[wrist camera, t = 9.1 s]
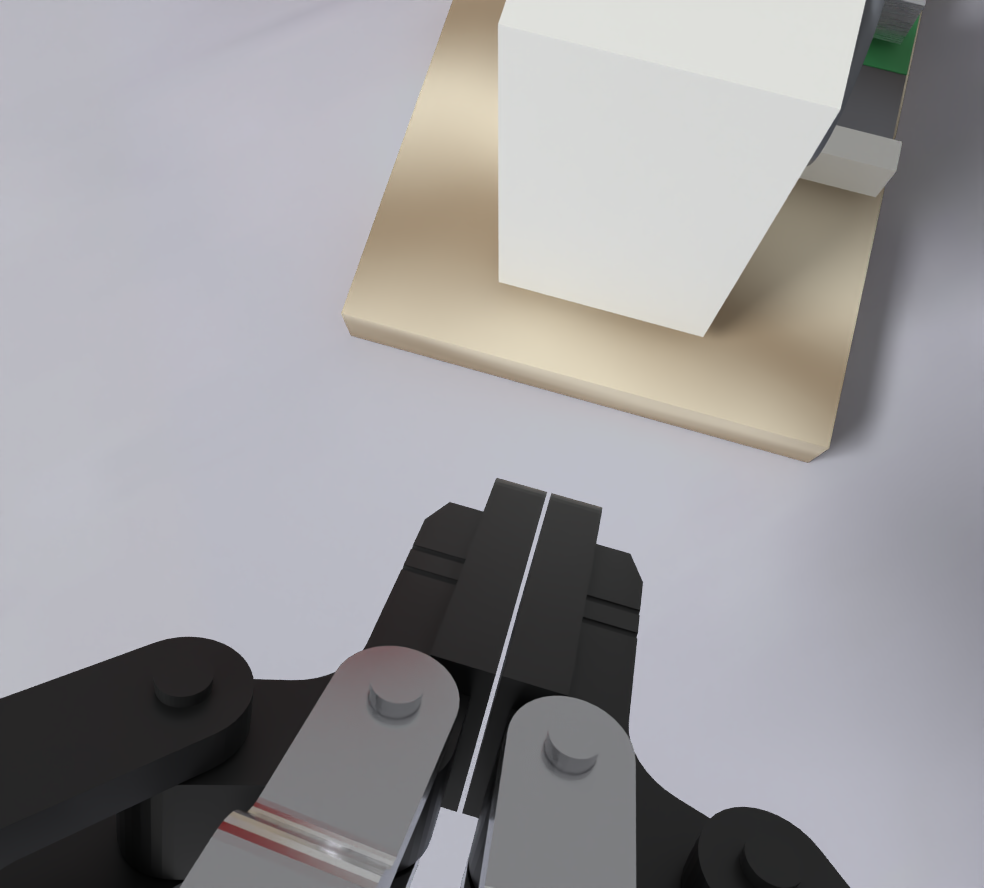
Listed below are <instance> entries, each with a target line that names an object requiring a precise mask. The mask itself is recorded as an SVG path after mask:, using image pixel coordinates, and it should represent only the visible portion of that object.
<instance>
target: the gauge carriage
mask: <svg viewBox="0 0 984 888" xmlns="http://www.w3.org/2000/svg"><path fill="white" fill-rule="evenodd" d="M884 3H885V0H506V2H505V5H504V8H503V11H502V14H501V17H500V20H499V23H498V240H499V282H501V283H505V284H508V285H512V286H516V287H519V288H523V289H527V290H530V291H534V292H538V293H542V294H545V295H549V296H553V297H556V298H560V299H564V300H567V301H571V302H575V303H579V304H582V305H586V306H590V307H593V308H597V309H601V310H604V311H608V312H612V313H616V314H619V315H623V316H627V317H630V318H634V319H638V320H641V321H645V322H649V323H653V324H656V325H660V326H664V327H667V328H671V329H675V330H679V331H682V332H686V333H690V334H693V335H697V336H701V337H704V335H705V333H706V332H707V330H708V328H709V327H710V325H711V323H712V322H713V320H714V318H715V317H716V315H717V313H718V312H719V310H720V308H721V307H722V305H723V303H724V302H725V300H726V298H727V297H728V295H729V293H730V292H731V290H732V288H733V287H734V285H735V283H736V282H737V280H738V279H739V277H740V275H741V274H742V272H743V270H744V269H745V267H746V265H747V264H748V262H749V260H750V259H751V257H752V255H753V254H754V252H755V250H756V249H757V247H758V245H759V244H760V242H761V240H762V239H763V237H764V235H765V234H766V232H767V230H768V229H769V227H770V225H771V224H772V222H773V220H774V219H775V217H776V215H777V214H778V212H779V211H780V209H781V207H782V206H783V204H784V202H785V201H786V199H787V197H788V196H789V194H790V192H791V191H792V189H793V187H794V186H795V184H796V182H797V181H798V179H799V178H802V179H806V180H810V181H814V182H817V183H821V184H825V185H829V186H833V187H837V188H841V189H845V190H849V191H853V192H857V193H861V194H865V195H868V196H872V197H876V196H877V195H878V194H879V193H880V191H881V190H882V189H883V188H884V186H885V185H886V184H887V183H888V181H889V180H890V179H891V177H892V176H893V175H894V174H895V172H896V170H897V166H898V161H899V156H900V151H901V147H902V141H898V140H894V139H890V138H886V137H882V136H878V135H874V134H870V133H866V132H862V131H858V130H854V129H850V128H846V127H842V126H838V125H836V124H837V122H838V120H839V118H840V116H841V114H842V112H843V110H844V108H845V105H846V103H847V101H848V99H849V97H850V94H851V92H852V90H853V87H854V85H855V83H856V80H857V78H858V75H859V73H860V70H861V68H862V65H863V63H864V60H865V57H866V55H867V52H868V49H869V47H870V44H871V41H872V38H873V36H874V33H875V30H876V27H877V24H878V21H879V18H880V15H881V12H882V9H883V6H884Z"/></svg>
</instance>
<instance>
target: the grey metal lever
mask: <svg viewBox="0 0 984 888" xmlns="http://www.w3.org/2000/svg"><path fill="white" fill-rule="evenodd" d="M925 4H926V0H885V3H884V6H883V9H882V12H881V15H880V18H879V21H878V24H877V27H876V30H875V33H874V36H873V38H876V39H880V40H884V41H888V42H892V43H897V44H901V43H902V41H903V40H904V38H905V37H906V35H907V33H908V32H909V30H910V29H911V27H912V26H913V24H914V22H915V21H916V19H917V18H918V16H919V15H920V13H921V11H922V10H923V8H924V7H925Z"/></svg>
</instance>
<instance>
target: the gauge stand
mask: <svg viewBox="0 0 984 888" xmlns="http://www.w3.org/2000/svg"><path fill="white" fill-rule="evenodd" d="M505 2H506V0H453V1H452V4H451V7H450V10H449V13H448V15H447V18H446V21H445V24H444V27H443V29H442V32H441V35H440V38H439V41H438V43H437V46H436V49H435V52H434V55H433V57H432V60H431V63H430V66H429V69H428V72H427V74H426V77H425V80H424V83H423V86H422V88H421V91H420V94H419V97H418V100H417V102H416V105H415V108H414V111H413V114H412V116H411V119H410V122H409V125H408V128H407V130H406V133H405V136H404V139H403V142H402V144H401V147H400V150H399V153H398V156H397V158H396V161H395V164H394V167H393V170H392V172H391V175H390V178H389V181H388V184H387V186H386V189H385V192H384V195H383V198H382V200H381V203H380V206H379V209H378V212H377V214H376V217H375V220H374V223H373V226H372V228H371V231H370V234H369V237H368V240H367V242H366V245H365V248H364V251H363V254H362V256H361V259H360V262H359V265H358V268H357V271H356V273H355V276H354V279H353V282H352V285H351V287H350V290H349V293H348V296H347V299H346V301H345V304H344V307H343V310H342V313H341V314H342V316H343V319H344V321H345V323H346V326H347V328H348V330H349V332H350V335H351V336H355V337H358V338H362V339H365V340H369V341H373V342H376V343H380V344H383V345H387V346H391V347H394V348H398V349H401V350H405V351H409V352H412V353H416V354H419V355H423V356H427V357H430V358H434V359H437V360H441V361H444V362H448V363H452V364H455V365H459V366H462V367H466V368H470V369H473V370H477V371H480V372H484V373H488V374H491V375H495V376H498V377H502V378H506V379H509V380H513V381H516V382H520V383H524V384H527V385H531V386H534V387H538V388H541V389H545V390H549V391H552V392H556V393H559V394H563V395H567V396H570V397H574V398H577V399H581V400H585V401H588V402H592V403H595V404H599V405H603V406H606V407H610V408H613V409H617V410H620V411H624V412H628V413H631V414H635V415H638V416H642V417H646V418H649V419H653V420H656V421H660V422H664V423H667V424H671V425H674V426H678V427H682V428H685V429H689V430H692V431H696V432H700V433H703V434H707V435H710V436H714V437H717V438H721V439H725V440H728V441H732V442H735V443H739V444H743V445H746V446H750V447H753V448H757V449H761V450H764V451H768V452H771V453H775V454H779V455H782V456H786V457H789V458H793V459H797V460H800V461H804V462H807V463H808V462H810V461H811V460H813V459H814V458H816V457H817V456H819V455H820V454H822V453H823V452H824V451H826V450H827V449H829V446H830V441H831V437H832V432H833V427H834V423H835V418H836V413H837V409H838V404H839V399H840V395H841V390H842V385H843V381H844V376H845V371H846V366H847V362H848V357H849V352H850V348H851V343H852V338H853V334H854V329H855V324H856V320H857V315H858V310H859V306H860V301H861V296H862V292H863V287H864V282H865V277H866V273H867V268H868V263H869V259H870V254H871V249H872V245H873V240H874V235H875V231H876V226H877V221H878V217H879V212H880V207H881V202H882V198H883V193H884V188H885V186H884V188H883V189H882V190H881V191H880V193H879V194H878V195H877V196H876V197H872V196H868V195H865V194H861V193H857V192H853V191H849V190H845V189H841V188H837V187H833V186H829V185H825V184H821V183H817V182H814V181H810V180H806V179H802V178H799V179H798V181H797V182H796V184H795V186H794V187H793V189H792V191H791V192H790V194H789V196H788V197H787V199H786V201H785V202H784V204H783V206H782V207H781V209H780V211H779V212H778V214H777V215H776V217H775V219H774V220H773V222H772V224H771V225H770V227H769V229H768V230H767V232H766V234H765V235H764V237H763V239H762V240H761V242H760V244H759V245H758V247H757V249H756V250H755V252H754V254H753V255H752V257H751V259H750V260H749V262H748V264H747V265H746V267H745V269H744V270H743V272H742V274H741V275H740V277H739V279H738V280H737V282H736V283H735V285H734V287H733V288H732V290H731V292H730V293H729V295H728V297H727V298H726V300H725V302H724V303H723V305H722V307H721V308H720V310H719V312H718V313H717V315H716V317H715V318H714V320H713V322H712V323H711V325H710V327H709V328H708V330H707V332H706V333H705V335H704V337H701V336H697V335H693V334H690V333H686V332H682V331H679V330H675V329H671V328H667V327H664V326H660V325H656V324H653V323H649V322H645V321H641V320H638V319H634V318H630V317H627V316H623V315H619V314H616V313H612V312H608V311H604V310H601V309H597V308H593V307H590V306H586V305H582V304H579V303H575V302H571V301H567V300H564V299H560V298H556V297H553V296H549V295H545V294H542V293H538V292H534V291H530V290H527V289H523V288H519V287H516V286H512V285H508V284H505V283H501V282H499V240H498V23H499V20H500V17H501V14H502V11H503V8H504V5H505ZM921 15H922V11H921V13H920V15H919V16H918V18H917V19H916V21H915V22H914V24H913V26H912V27H911V29H910V30H909V32H908V33H907V35H906V37H905V38H904V40H903V41H902V43H901V44H897V43H892V42H888V41H884V40H880V39H876V38H872V41H871V44H870V47H869V49H868V52H867V55H866V57H865V60H864V63H863V65H862V68H861V70H860V73H859V75H858V78H857V80H856V83H855V85H854V87H853V90H852V92H851V94H850V97H849V99H848V101H847V103H846V105H845V108H844V110H843V112H842V114H841V116H840V118H839V120H838V122H837V124H836V125H838V126H842V127H846V128H850V129H854V130H858V131H862V132H866V133H870V134H874V135H878V136H882V137H886V138H890V139H894V140H895V137H896V132H897V128H898V123H899V118H900V113H901V109H902V104H903V99H904V95H905V90H906V85H907V81H908V76H909V71H910V67H911V62H912V57H913V53H914V48H915V43H916V38H917V34H918V29H919V24H920V20H921Z"/></svg>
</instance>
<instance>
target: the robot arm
mask: <svg viewBox="0 0 984 888" xmlns="http://www.w3.org/2000/svg"><path fill="white" fill-rule="evenodd" d="M546 493H547V492H545V491H541V490H538V489H534V488H531V487H527V486H524V485H520V484H517V483H513V482H510V481H506V480H503V479H499V478H496V480H495V483H494V486H493V488H492V491H491V494H490V496H489V499H488V501H487V504H486V507H485V509H484V512H482V511H479V510H475V509H472V508H469V507H465V506H462V505H458V504H455V503H451V502H449V503H448V504H446V505H445V506H443V507H442V508H441V509H439V510H438V511H436V512H435V513H433V514H432V515H431V516H429V517H428V518H426V519H425V521H424V523H423V525H422V527H421V529H420V531H419V533H418V536H417V538H416V540H415V542H414V544H413V548H412V549H411V550H410V553H409V555H408V557H407V559H406V561H405V563H404V566H403V569H402V570H401V572H400V574H399V576H398V578H397V580H396V583H395V585H394V587H393V589H392V591H391V593H390V595H389V598H388V600H387V602H386V604H385V606H384V608H383V610H382V612H381V615H380V617H379V619H378V621H377V623H376V625H375V627H374V630H373V632H372V634H371V636H370V638H369V640H368V642H367V644H366V646H365V648H364V649H363V651H360V652H358V653H356V654H354V655H353V656H351V657H349V658H348V659H347V660H346V661H344V662H343V663H342V664H341V665H340V667H339V668H338V669H337V671H336V672H334V673H332V674H329V675H326V676H323V677H319V678H314V679H307V680H262V679H253V675H252V672H251V669H250V667H249V666H248V664H247V662H246V661H245V660H244V658H243V657H242V656H241V655H240V654H239V653H237V652H236V651H235V650H233V649H232V648H230V647H228V646H227V645H225V644H223V643H220V642H217V641H214V640H211V639H206V638H200V637H177V638H171V639H166V640H162V641H159V642H155V643H153V644H150V645H147V646H144V647H142V648H139V649H136V650H133V651H131V652H128V653H125V654H122V655H120V656H117V657H114V658H111V659H109V660H106V661H103V662H100V663H98V664H95V665H92V666H89V667H87V668H84V669H81V670H78V671H76V672H73V673H70V674H67V675H65V676H62V677H59V678H56V679H53V680H51V681H48V682H45V683H42V684H40V685H37V686H34V687H31V688H29V689H26V690H23V691H20V692H18V693H15V694H12V695H9V696H7V697H4V698H1V699H0V888H409V887H410V885H411V882H412V880H413V877H414V875H415V872H416V870H417V866H418V863H419V859H420V857H421V856H422V855H423V853H424V852H425V850H426V849H427V847H428V845H429V842H430V840H431V837H432V834H433V830H434V827H435V824H436V820H437V817H438V814H439V810H440V807H443V808H446V809H450V810H453V811H456V812H457V809H458V806H459V802H460V798H461V795H462V791H463V788H464V784H465V781H466V777H467V774H468V770H469V767H470V763H471V760H472V756H473V753H474V749H475V745H476V742H477V738H478V735H479V731H480V728H481V724H482V721H483V717H484V714H485V710H486V707H487V703H488V700H489V696H490V692H491V689H492V685H493V682H494V678H495V675H496V671H497V668H498V664H499V661H500V657H501V653H502V650H503V646H504V643H505V639H506V636H507V632H508V629H509V625H510V621H511V618H512V614H513V611H514V607H515V604H516V600H517V597H518V593H519V589H520V586H521V582H522V579H523V575H524V572H525V568H526V565H527V561H528V557H529V554H530V550H531V547H532V543H533V540H534V536H535V533H536V529H537V525H538V522H539V518H540V515H541V511H542V508H543V504H544V501H545V497H546ZM601 513H602V507H598V506H595V505H591V504H588V503H584V502H581V501H577V500H573V499H570V498H566V497H563V496H559V495H556V494H552V493H551V497H550V500H549V504H548V507H547V511H546V514H545V518H544V521H543V525H542V528H541V531H540V535H539V538H538V542H537V545H536V549H535V552H534V556H533V559H532V563H531V566H530V570H529V573H528V577H527V580H526V584H525V587H524V591H523V595H522V598H521V602H520V605H519V609H518V612H517V616H516V620H515V623H514V627H513V630H512V634H511V638H510V641H509V645H508V649H507V652H506V656H505V660H504V663H503V667H502V670H501V674H500V678H499V681H498V685H497V689H496V692H495V696H494V700H493V703H492V707H491V710H490V714H489V718H488V721H487V725H486V729H485V732H484V736H483V740H482V743H481V747H480V751H479V754H478V758H477V761H476V765H475V769H474V772H473V776H472V780H471V783H470V787H469V791H468V794H467V798H466V801H465V805H464V809H463V812H462V813H464V814H467V815H470V816H473V817H477V818H479V820H478V823H477V827H476V831H475V835H474V839H473V843H472V847H471V851H470V854H469V858H468V861H467V864H466V867H465V871H464V874H463V878H462V881H461V886H460V888H850V887H849V886H848V884H847V883H846V882H845V881H844V879H843V878H842V877H841V876H840V874H839V873H838V872H837V871H836V869H835V868H834V867H833V865H832V864H831V863H830V862H829V860H828V859H827V858H826V857H825V855H824V854H823V853H822V852H821V850H820V849H819V848H818V847H817V846H816V845H815V843H814V842H813V841H812V840H811V839H810V838H809V837H808V836H807V835H806V834H805V833H803V832H802V831H801V830H800V829H799V828H797V827H796V826H794V825H793V824H792V823H790V822H789V821H787V820H785V819H783V818H781V817H780V816H778V815H775V814H773V813H770V812H768V811H764V810H761V809H757V808H750V807H734V808H730V809H726V810H723V811H721V812H719V813H717V814H715V815H714V816H713V817H712V818H708V817H707V816H705V815H704V814H702V813H700V812H699V811H697V810H696V809H694V808H692V807H691V806H689V805H687V804H686V803H684V802H683V801H681V800H679V799H678V798H676V797H675V796H673V795H672V794H670V793H669V792H668V791H666V790H665V789H664V788H662V787H661V786H660V785H659V784H658V783H657V782H656V781H655V780H654V779H653V778H652V777H651V776H650V775H649V774H648V773H647V772H646V770H645V769H644V767H643V766H642V765H641V763H640V762H639V760H638V758H637V756H636V754H635V752H634V749H633V746H632V743H631V741H630V736H629V714H630V704H631V695H632V685H633V675H634V665H635V655H636V645H637V638H636V637H637V634H638V626H639V616H640V615H639V612H640V606H641V596H642V586H643V581H642V579H641V577H640V575H639V572H638V570H637V568H636V566H635V563H634V561H633V559H632V557H631V554H629V553H626V552H622V551H619V550H615V549H612V548H608V547H605V546H601V545H598V544H596V541H597V535H598V530H599V524H600V519H601Z"/></svg>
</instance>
